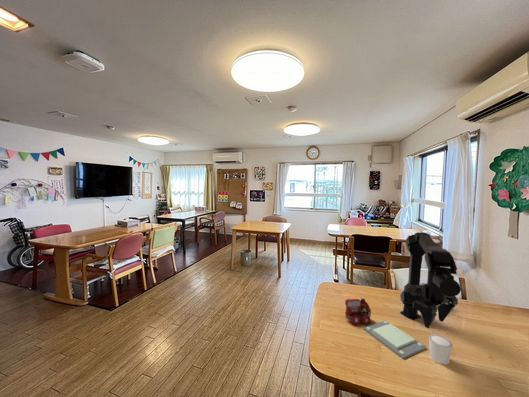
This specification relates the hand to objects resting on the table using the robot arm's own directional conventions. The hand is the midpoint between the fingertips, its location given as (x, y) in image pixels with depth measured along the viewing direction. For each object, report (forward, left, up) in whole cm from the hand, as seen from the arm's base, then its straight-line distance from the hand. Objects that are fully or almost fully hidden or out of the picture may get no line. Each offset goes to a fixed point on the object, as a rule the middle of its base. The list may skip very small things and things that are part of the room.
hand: (434, 324), depth 82 cm
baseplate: (+5, -12, -12) cm, 18 cm away
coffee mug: (-37, -22, -13) cm, 45 cm away
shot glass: (-1, +2, -13) cm, 13 cm away
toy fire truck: (+9, -27, -13) cm, 31 cm away
